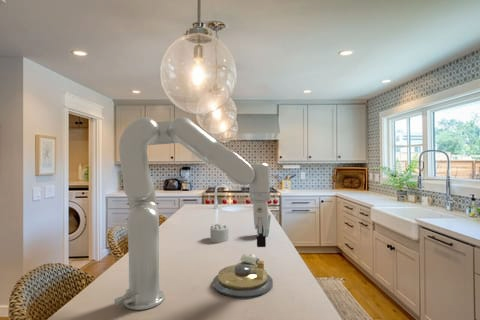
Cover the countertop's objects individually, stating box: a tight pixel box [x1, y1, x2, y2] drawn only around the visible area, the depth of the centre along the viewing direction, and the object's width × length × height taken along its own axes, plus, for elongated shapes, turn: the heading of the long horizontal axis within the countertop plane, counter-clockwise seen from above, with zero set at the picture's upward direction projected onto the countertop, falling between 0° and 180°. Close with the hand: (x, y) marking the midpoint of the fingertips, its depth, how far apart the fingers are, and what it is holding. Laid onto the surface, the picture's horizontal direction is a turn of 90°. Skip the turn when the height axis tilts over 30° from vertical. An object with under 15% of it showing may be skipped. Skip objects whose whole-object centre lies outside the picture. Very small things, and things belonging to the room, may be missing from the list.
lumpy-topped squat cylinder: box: [209, 223, 230, 244], centre depth 170 cm, size 10×13×9 cm
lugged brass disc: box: [217, 260, 268, 291], centre depth 108 cm, size 18×18×6 cm
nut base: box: [212, 273, 274, 299], centre depth 108 cm, size 22×22×3 cm
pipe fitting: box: [240, 253, 261, 266], centre depth 131 cm, size 8×4×7 cm
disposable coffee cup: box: [265, 210, 272, 237], centre depth 178 cm, size 11×11×15 cm
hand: (261, 246), depth 108 cm, fingers closed
